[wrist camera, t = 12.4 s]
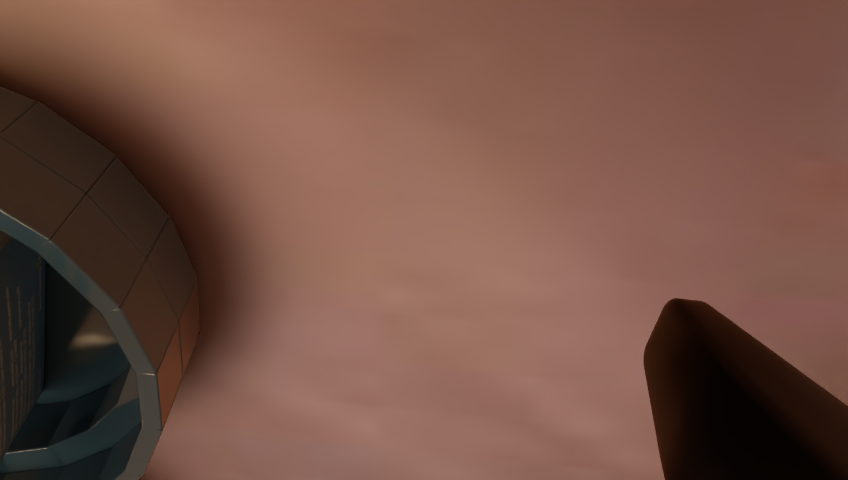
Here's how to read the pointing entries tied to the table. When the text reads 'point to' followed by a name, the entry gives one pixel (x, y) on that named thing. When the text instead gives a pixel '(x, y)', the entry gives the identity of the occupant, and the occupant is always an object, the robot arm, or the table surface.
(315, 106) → the table surface
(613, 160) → the table surface
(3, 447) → the blue retail package
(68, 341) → the bowl
